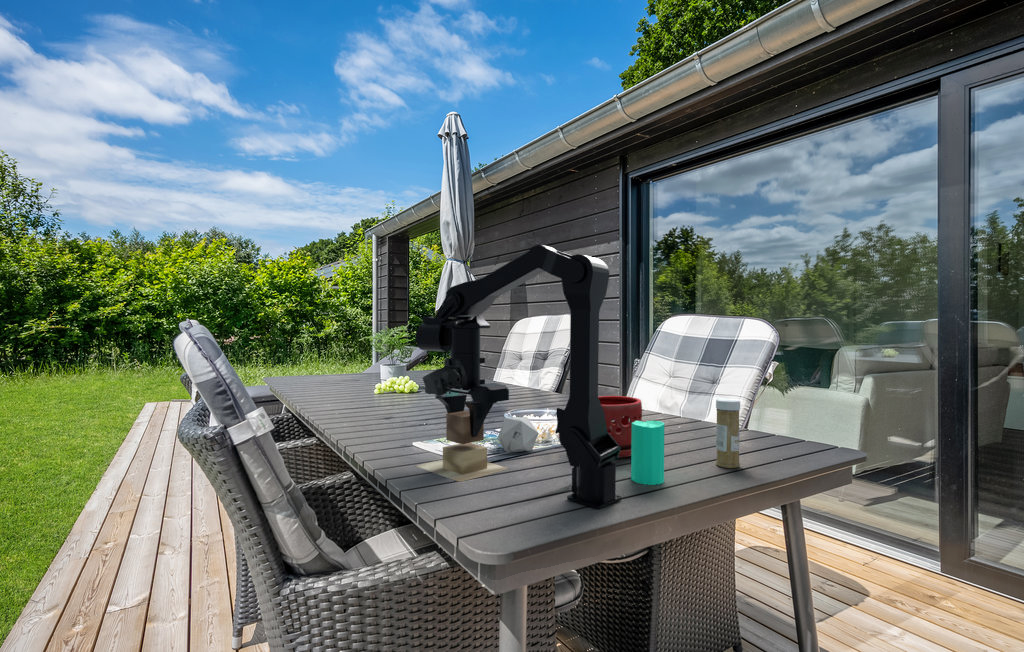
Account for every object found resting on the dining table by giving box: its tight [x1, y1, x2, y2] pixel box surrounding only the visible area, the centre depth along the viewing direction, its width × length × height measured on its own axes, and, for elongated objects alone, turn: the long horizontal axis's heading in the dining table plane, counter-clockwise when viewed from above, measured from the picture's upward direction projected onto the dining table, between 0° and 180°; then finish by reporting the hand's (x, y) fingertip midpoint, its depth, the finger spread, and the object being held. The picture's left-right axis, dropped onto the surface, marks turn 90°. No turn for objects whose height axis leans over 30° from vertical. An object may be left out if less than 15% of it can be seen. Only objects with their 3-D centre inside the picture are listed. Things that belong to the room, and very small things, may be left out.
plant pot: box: [598, 395, 643, 459], centre depth 117 cm, size 13×13×12 cm
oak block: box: [442, 442, 488, 475], centre depth 101 cm, size 6×6×4 cm
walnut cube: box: [445, 410, 485, 444], centre depth 101 cm, size 5×5×5 cm
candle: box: [630, 420, 665, 486], centre depth 98 cm, size 6×6×12 cm
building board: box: [415, 458, 510, 483], centre depth 102 cm, size 14×12×1 cm
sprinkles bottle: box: [715, 397, 741, 469], centre depth 107 cm, size 5×5×13 cm
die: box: [497, 416, 540, 453], centre depth 116 cm, size 8×9×10 cm
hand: (465, 434), depth 101 cm, fingers closed on walnut cube, 5 cm apart
